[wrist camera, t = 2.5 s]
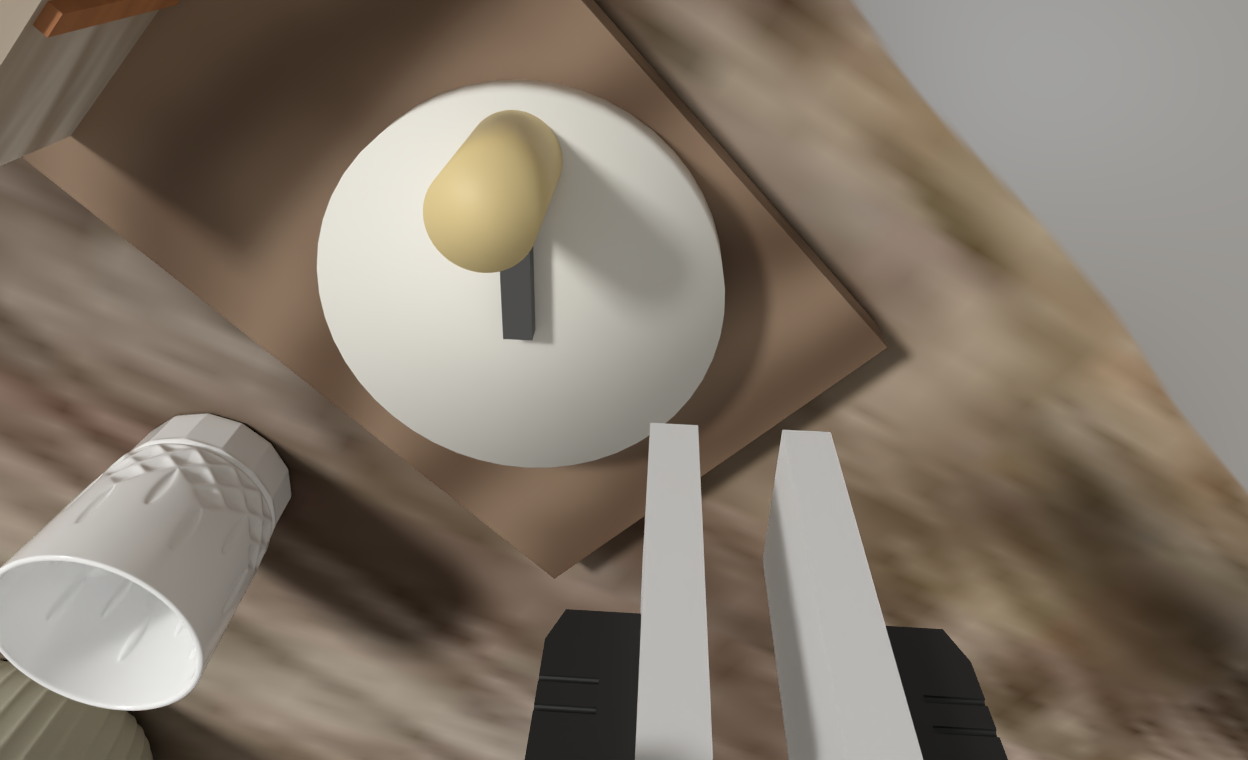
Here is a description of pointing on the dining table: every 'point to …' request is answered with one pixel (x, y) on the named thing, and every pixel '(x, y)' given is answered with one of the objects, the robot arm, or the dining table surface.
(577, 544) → the stand
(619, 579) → the dining table surface
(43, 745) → the canister
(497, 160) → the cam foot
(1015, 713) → the dining table surface
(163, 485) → the white cup
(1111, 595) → the dining table surface
